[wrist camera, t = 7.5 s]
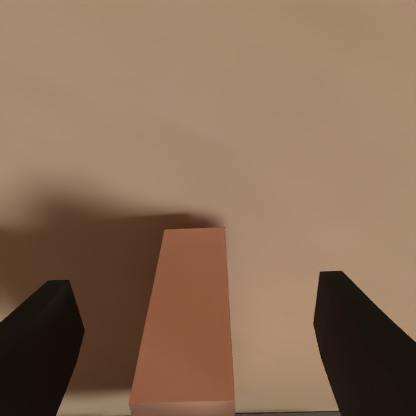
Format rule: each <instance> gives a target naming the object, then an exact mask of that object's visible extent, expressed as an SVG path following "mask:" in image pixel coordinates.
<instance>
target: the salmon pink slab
mask: <svg viewBox="0 0 416 416" xmlns="http://www.w3.org/2000/svg"><path fill="white" fill-rule="evenodd" d="M129 406H130V410H131V413H132V416H235V397H234V379H233V362H232V344H231V327H230V309H229V292H228V274H227V257H226V239H225V227H217V228H192V229H166V230H164V235H163V240H162V245H161V250H160V255H159V259H158V264H157V269H156V274H155V279H154V284H153V288H152V293H151V298H150V303H149V308H148V313H147V318H146V322H145V327H144V332H143V337H142V342H141V347H140V351H139V356H138V361H137V366H136V371H135V376H134V381H133V385H132V390H131V395H130V400H129Z"/></svg>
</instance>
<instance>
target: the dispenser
mask: <svg viewBox="0 0 416 416" xmlns="http://www.w3.org/2000/svg"><path fill="white" fill-rule="evenodd" d="M235 416H341V414H340V412H306V413H260V414H235Z"/></svg>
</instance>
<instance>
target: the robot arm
mask: <svg viewBox="0 0 416 416" xmlns="http://www.w3.org/2000/svg"><path fill="white" fill-rule="evenodd" d="M313 324H314V329H315V333H316V338H317V343H318V347H319V351H320V355H321V359H322V362H323V365H324V368H325V371H326V374H327V377H328V380H329V382H330V385H331V388H332V391H333V394H334V397H335V399H336V402H337V405H338V408H339V411H340V414H341V416H416V342H415V341H414V340H413V339H412V338H410V337H409V336H408V335H407V334H406V333H405V332H404V331H403V330H402V329H401V328H399V327H398V326H397V325H396V324H395V323H394V322H393V321H392V320H391V319H390V318H389V317H388V316H387V315H386V314H385V313H383V312H382V311H381V310H380V309H379V308H378V307H377V306H376V305H375V304H374V303H373V302H372V301H371V300H370V299H369V298H368V297H367V296H366V295H365V294H364V293H363V292H362V291H361V290H360V289H359V288H358V287H357V286H356V285H355V284H354V283H353V282H352V281H351V280H350V278H349V277H347V276H346V275H345V274H344V273H343V272H342V271H325V272H320V275H319V283H318V291H317V299H316V307H315V315H314V322H313ZM84 331H85V329H84V326H83V323H82V320H81V316H80V313H79V310H78V307H77V304H76V300H75V297H74V294H73V291H72V288H71V284H70V281H69V280H52V281H47V282H46V283H45V284H44V285H43V286H41V287H40V288H39V289H38V290H37V291H36V292H34V293H33V294H32V295H31V296H30V297H29V298H28V299H26V300H25V301H24V302H23V303H22V304H21V305H20V306H19V307H17V308H16V309H15V310H14V311H13V312H12V313H11V314H9V315H8V316H7V317H6V318H5V319H4V320H3V321H1V322H0V416H56V414H57V411H58V409H59V406H60V404H61V401H62V399H63V396H64V394H65V391H66V389H67V386H68V384H69V381H70V378H71V376H72V373H73V371H74V368H75V365H76V362H77V359H78V355H79V351H80V347H81V343H82V339H83V335H84Z"/></svg>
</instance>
